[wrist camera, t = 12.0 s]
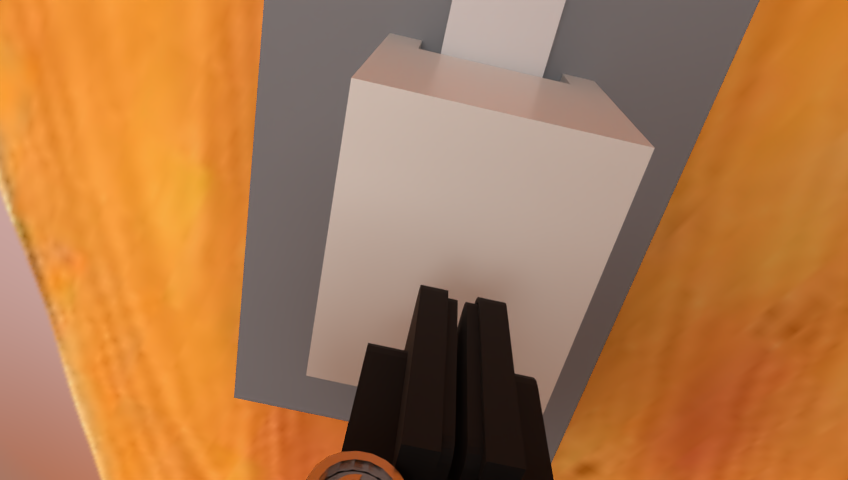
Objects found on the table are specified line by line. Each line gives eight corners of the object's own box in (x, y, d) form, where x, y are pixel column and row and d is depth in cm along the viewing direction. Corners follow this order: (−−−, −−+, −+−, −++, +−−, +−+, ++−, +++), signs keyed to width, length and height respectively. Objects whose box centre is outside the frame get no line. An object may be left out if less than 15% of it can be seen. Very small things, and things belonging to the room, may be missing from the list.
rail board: (820, -195, 15) (884, -220, 13) (546, 437, 27) (554, 486, 24) (306, -325, 15) (275, -376, 13) (246, 374, 26) (223, 417, 24)
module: (594, 81, 18) (654, 148, 12) (519, 294, 21) (538, 424, 16) (389, 32, 17) (350, 77, 12) (350, 257, 21) (306, 375, 15)
